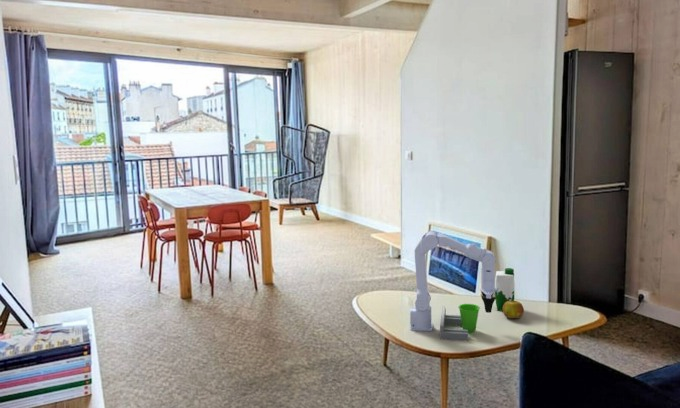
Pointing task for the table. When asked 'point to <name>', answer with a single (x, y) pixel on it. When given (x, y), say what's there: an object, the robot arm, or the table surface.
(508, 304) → the fruit
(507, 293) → the milk carton
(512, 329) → the table surface
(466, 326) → the cup
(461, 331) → the rack
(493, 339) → the table surface
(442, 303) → the table surface
